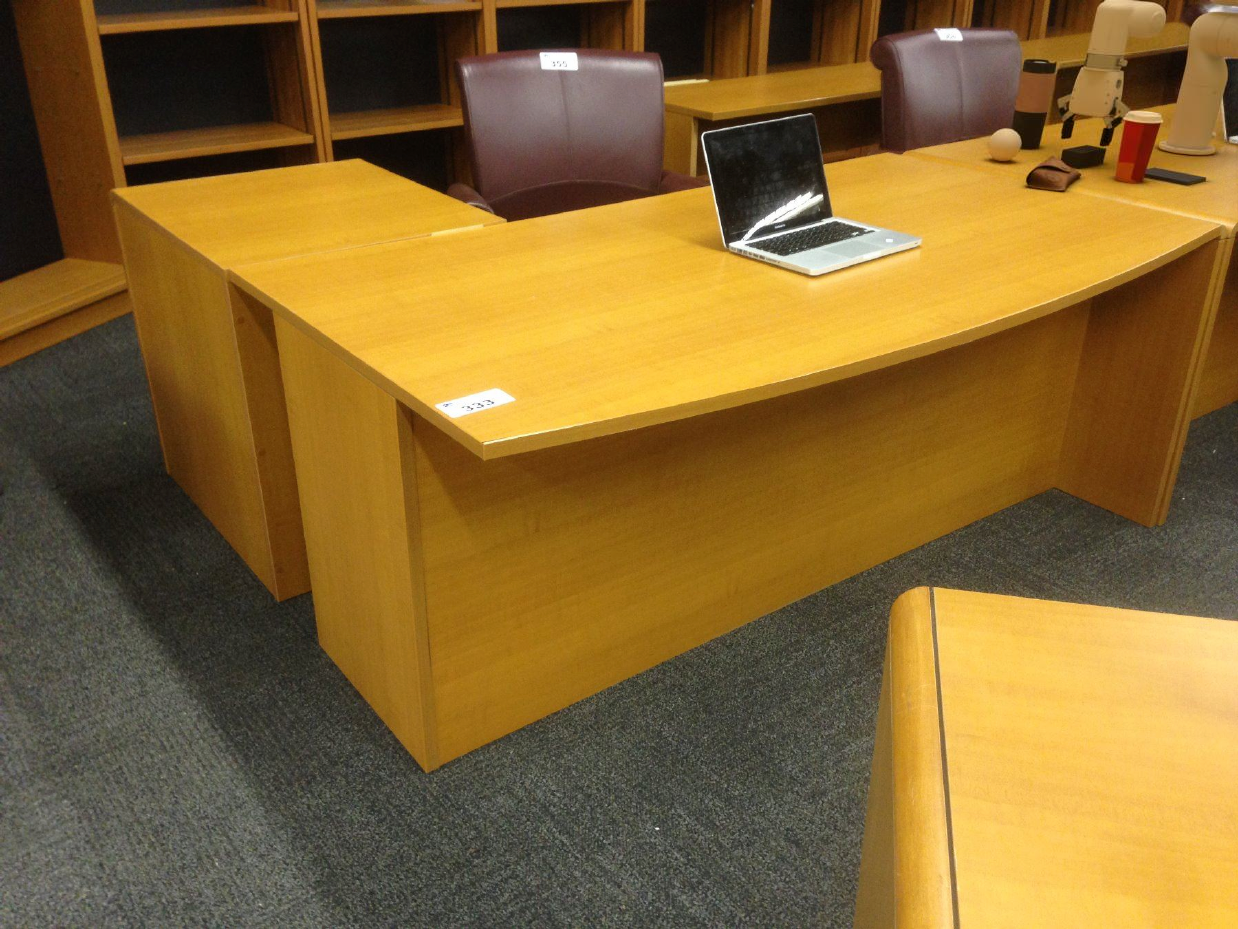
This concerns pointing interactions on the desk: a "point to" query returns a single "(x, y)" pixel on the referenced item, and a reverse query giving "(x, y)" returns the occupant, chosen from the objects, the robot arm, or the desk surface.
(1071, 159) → the black block
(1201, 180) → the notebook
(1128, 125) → the paper cup
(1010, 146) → the cream ovoid piece
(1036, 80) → the travel mug
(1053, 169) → the sunglasses case
